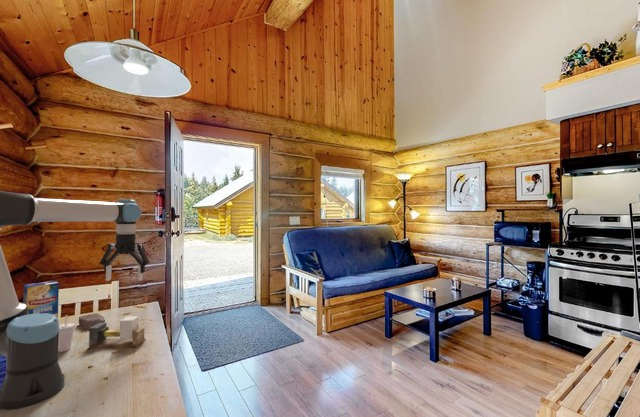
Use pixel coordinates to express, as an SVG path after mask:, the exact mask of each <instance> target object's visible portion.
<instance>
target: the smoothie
mask: <svg viewBox="0 0 640 417" xmlns="http://www.w3.org/2000/svg"><path fill="white" fill-rule="evenodd" d="M64 320H65V323H61V324H59V327H60V328H59V343H58V353H59V352H67V351H69V350H71V347H72V341H73V335H74V329H75V328H76V324H75V323H74V322H68V314H66V315H65V318H64Z"/></svg>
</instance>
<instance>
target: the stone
mask: <svg viewBox="0 0 640 417" xmlns="http://www.w3.org/2000/svg"><path fill="white" fill-rule="evenodd" d="M98 323H106V319H105V317H104V316H103V315H101V314H99V313H98V312H97V313H90V314H85V315H81V316H78V325H79V326H80V327H82V328H84V329H86V330H87V331H89V328H91V327H92V326H94V325H96V324H98Z"/></svg>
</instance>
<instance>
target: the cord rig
mask: <svg viewBox="0 0 640 417" xmlns="http://www.w3.org/2000/svg"><path fill="white" fill-rule="evenodd" d="M88 331H89V333H88V336H89V337H88V348H89V349H95V348H96V349H98V348H99V349H100V348H101V349H103V348H105V349H107V348H108V349H109V348H110V349H113V348H119V349H120V348H121V349H122V348H125V349H126V348H129V349H130V348H138V347H139V346H140V345H141V344H143V343H144V342H145V341H146V338H145V327H143V326H142V327H138V329H137V330H135V331H133V338H132V339H120V329H109V326H107V322H105V323H98V324H96V325H94V326H92V327H91V328H89V330H88ZM109 337H110V338H109ZM116 337H117V338H116Z"/></svg>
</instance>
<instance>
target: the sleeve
mask: <svg viewBox="0 0 640 417" xmlns="http://www.w3.org/2000/svg"><path fill="white" fill-rule="evenodd" d="M139 318H140V316H135V315H134V316H132V315H131V316H130V315H129V316H125V317H124V318H122V319H120V320H119V330H120V337H119V338H120V339H132V338H133V331H135V330H137V329H138V328H139V323H140V322H139V321H140V320H139Z"/></svg>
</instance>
